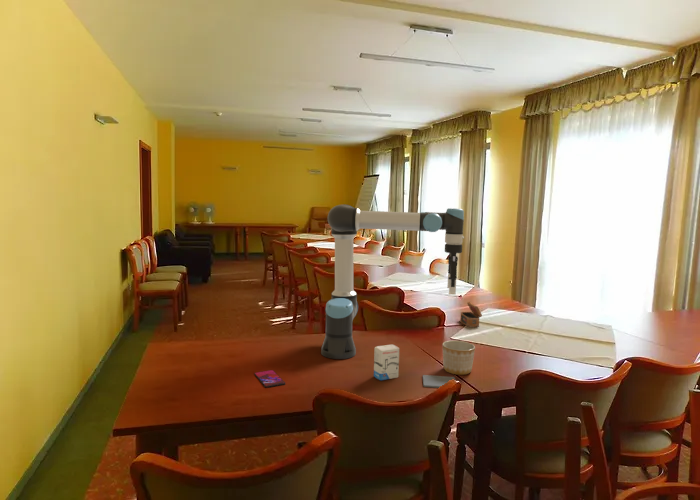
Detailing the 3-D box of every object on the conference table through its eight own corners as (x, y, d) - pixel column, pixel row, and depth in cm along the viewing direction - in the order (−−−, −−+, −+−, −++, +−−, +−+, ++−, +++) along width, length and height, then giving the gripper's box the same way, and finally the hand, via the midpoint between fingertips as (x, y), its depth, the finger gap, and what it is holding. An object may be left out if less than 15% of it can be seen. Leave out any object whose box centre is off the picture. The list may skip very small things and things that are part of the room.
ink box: (379, 381, 173) (380, 350, 172) (373, 376, 178) (373, 346, 176) (399, 377, 177) (400, 347, 176) (392, 373, 182) (392, 343, 180)
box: (437, 318, 269) (438, 298, 268) (483, 317, 273) (484, 298, 271) (453, 331, 242) (454, 309, 241) (504, 331, 245) (505, 309, 244)
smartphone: (273, 369, 181) (286, 383, 168) (273, 371, 181) (286, 385, 168) (253, 372, 178) (265, 386, 165) (253, 375, 178) (265, 389, 165)
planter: (439, 364, 192) (440, 339, 191) (469, 365, 192) (471, 340, 191) (444, 376, 180) (445, 349, 179) (477, 377, 179) (478, 350, 178)
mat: (423, 386, 169) (423, 385, 169) (422, 376, 179) (422, 374, 179) (457, 389, 167) (457, 387, 167) (454, 378, 177) (454, 377, 177)
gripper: (464, 246, 191) (462, 297, 193) (460, 241, 215) (457, 286, 218) (446, 246, 192) (443, 296, 194) (443, 240, 217) (441, 285, 219)
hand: (451, 291), depth 206 cm, fingers open, 13 cm apart
